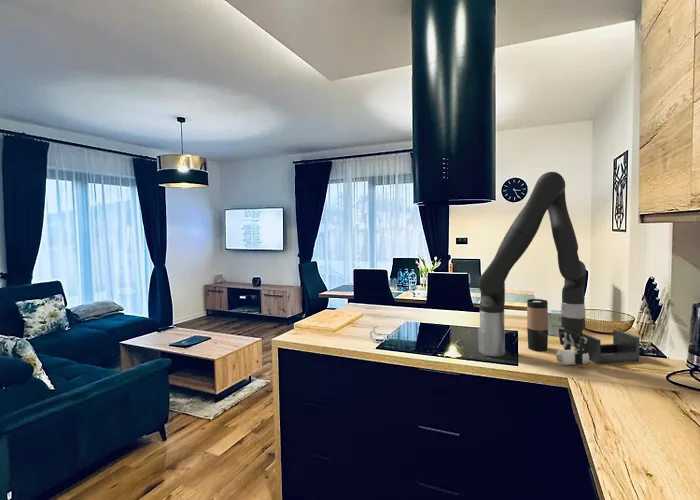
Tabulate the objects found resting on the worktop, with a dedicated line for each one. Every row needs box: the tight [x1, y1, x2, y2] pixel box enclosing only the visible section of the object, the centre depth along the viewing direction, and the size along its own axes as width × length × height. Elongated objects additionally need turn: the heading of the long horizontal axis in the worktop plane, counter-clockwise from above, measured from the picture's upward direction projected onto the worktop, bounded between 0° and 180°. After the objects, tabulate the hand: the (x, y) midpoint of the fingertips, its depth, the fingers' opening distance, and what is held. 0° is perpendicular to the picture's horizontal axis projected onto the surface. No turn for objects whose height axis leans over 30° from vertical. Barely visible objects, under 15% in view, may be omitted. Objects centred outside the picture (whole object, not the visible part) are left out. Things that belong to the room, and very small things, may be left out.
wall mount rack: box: [369, 324, 402, 343], centre depth 177 cm, size 16×14×6 cm
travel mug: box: [526, 298, 549, 352], centre depth 154 cm, size 8×8×20 cm
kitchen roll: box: [555, 348, 590, 366], centre depth 137 cm, size 11×5×5 cm
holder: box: [577, 329, 640, 365], centre depth 142 cm, size 16×11×9 cm
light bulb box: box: [548, 309, 564, 337], centre depth 175 cm, size 11×7×11 cm, turn 58°
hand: (573, 360), depth 137 cm, fingers closed on kitchen roll, 5 cm apart
